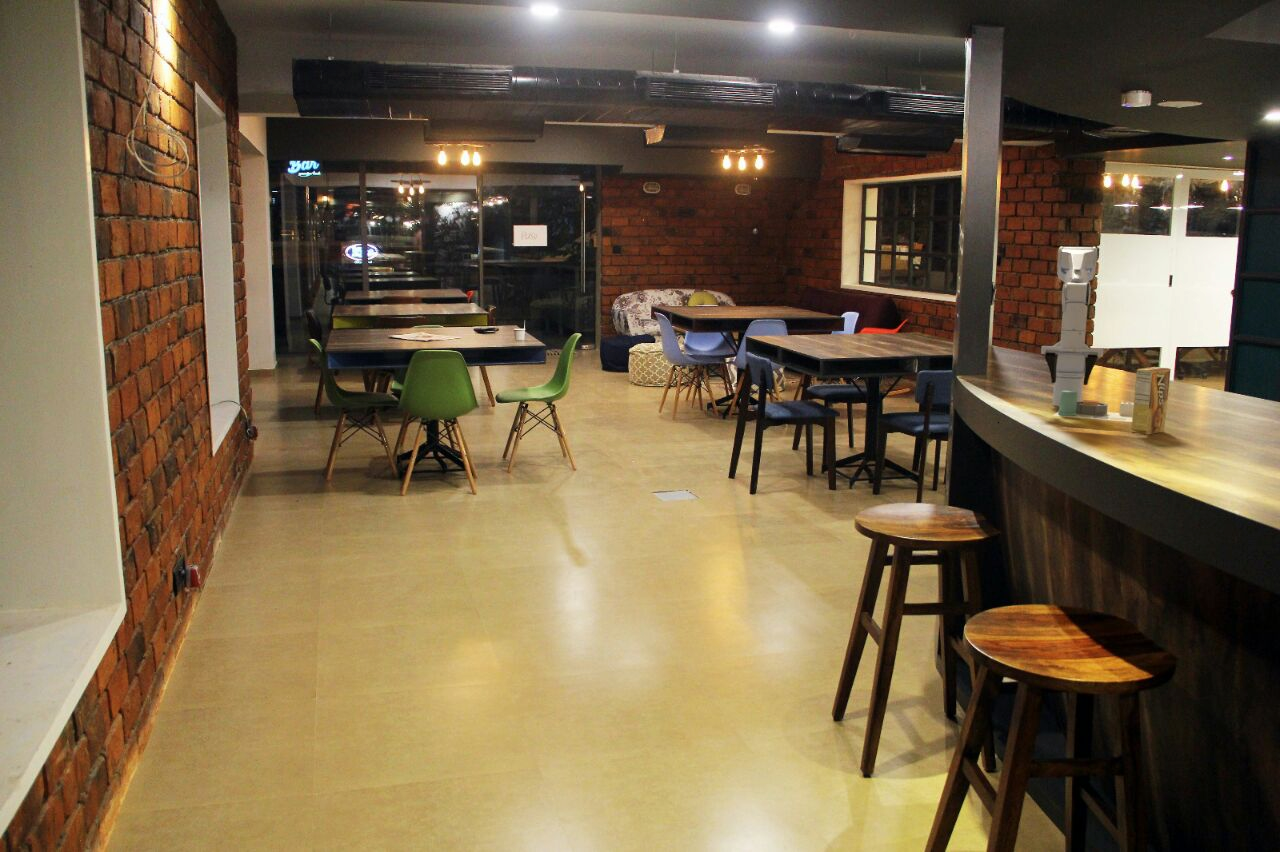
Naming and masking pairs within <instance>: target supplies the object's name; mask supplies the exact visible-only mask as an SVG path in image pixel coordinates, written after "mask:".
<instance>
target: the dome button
mask: <svg viewBox="0 0 1280 852" xmlns="http://www.w3.org/2000/svg"><path fill="white" fill-rule="evenodd" d="M1082 402H1083V404H1081V405H1092V406H1100V405H1098V402H1099V401H1098V400H1092V399H1090V400H1088V399H1087V400H1086V399H1085V400H1083V401H1082Z"/></svg>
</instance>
